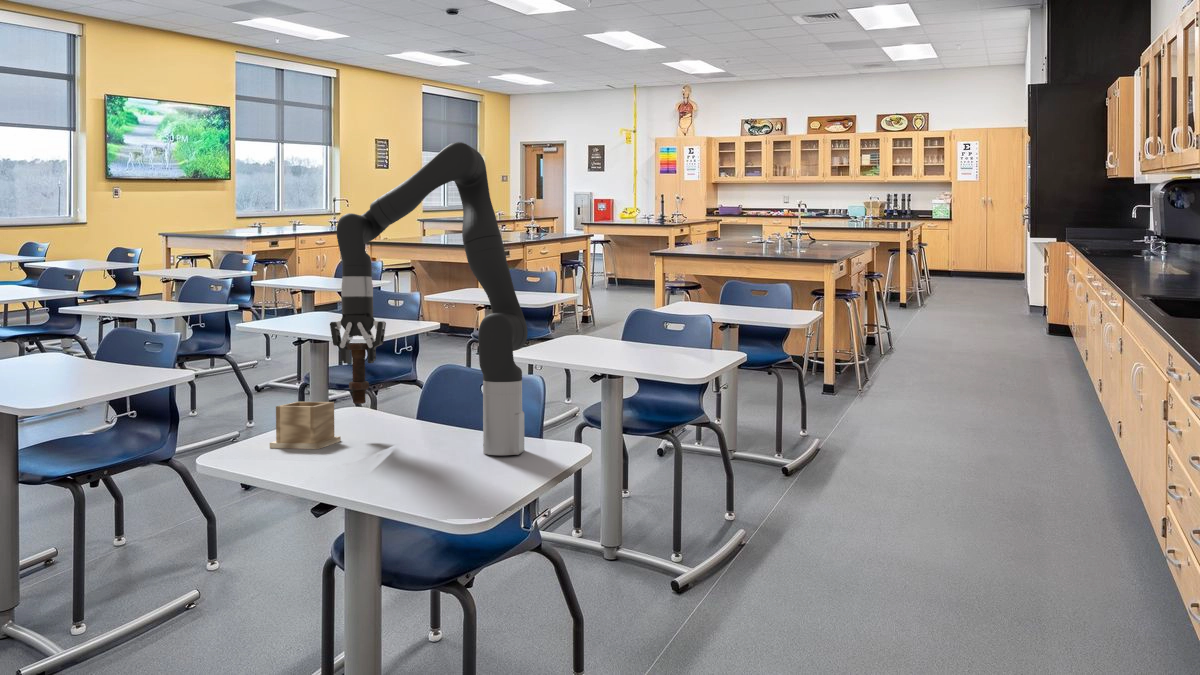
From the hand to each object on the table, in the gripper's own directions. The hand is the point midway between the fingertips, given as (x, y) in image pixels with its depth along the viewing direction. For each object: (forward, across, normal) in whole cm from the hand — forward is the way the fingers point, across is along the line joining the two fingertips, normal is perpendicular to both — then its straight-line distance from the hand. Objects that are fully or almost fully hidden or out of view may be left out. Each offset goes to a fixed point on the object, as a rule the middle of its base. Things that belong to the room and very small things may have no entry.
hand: (358, 362), depth 215 cm
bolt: (+10, 0, 0) cm, 10 cm away
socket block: (+19, +9, +10) cm, 23 cm away
